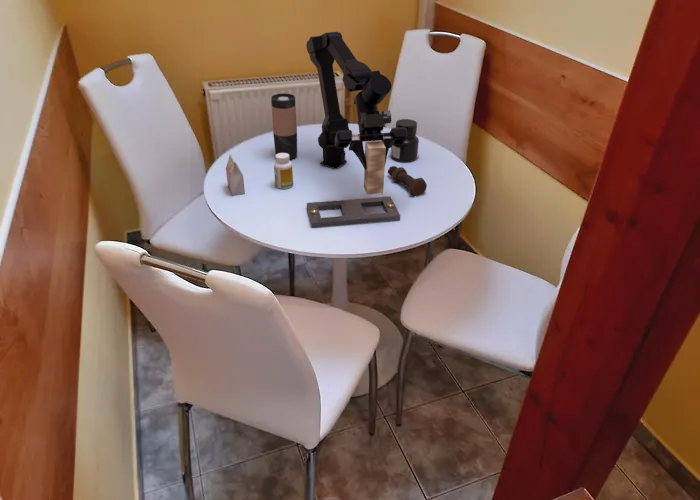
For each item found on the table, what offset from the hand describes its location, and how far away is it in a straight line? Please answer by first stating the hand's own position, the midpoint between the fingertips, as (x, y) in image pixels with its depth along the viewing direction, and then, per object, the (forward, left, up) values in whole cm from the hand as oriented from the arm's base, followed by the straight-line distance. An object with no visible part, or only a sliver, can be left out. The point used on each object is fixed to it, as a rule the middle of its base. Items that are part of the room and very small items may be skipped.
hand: (374, 168), depth 140 cm
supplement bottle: (-31, 0, -14) cm, 34 cm away
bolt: (0, +20, -14) cm, 24 cm away
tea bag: (-41, -10, -14) cm, 44 cm away
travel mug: (-43, +17, -14) cm, 48 cm away
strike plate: (-5, -3, -13) cm, 15 cm away
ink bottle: (-10, +38, -14) cm, 42 cm away
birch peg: (0, 0, -7) cm, 7 cm away
